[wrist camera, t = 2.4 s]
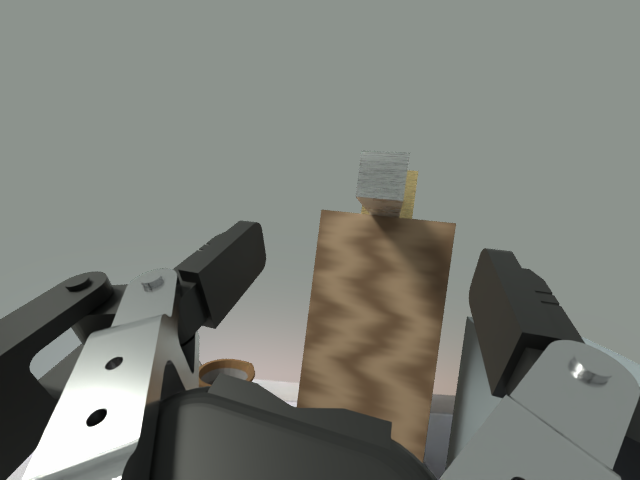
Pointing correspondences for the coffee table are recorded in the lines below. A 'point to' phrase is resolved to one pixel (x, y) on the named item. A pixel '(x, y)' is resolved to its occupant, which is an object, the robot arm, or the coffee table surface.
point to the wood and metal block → (386, 184)
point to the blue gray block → (488, 390)
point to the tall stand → (377, 319)
